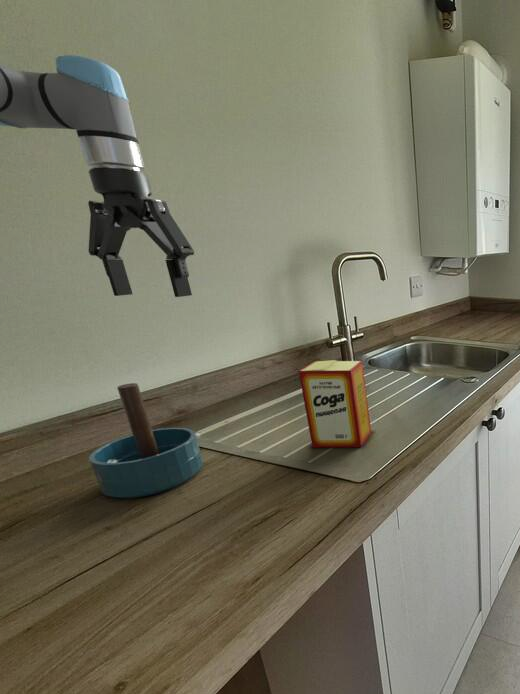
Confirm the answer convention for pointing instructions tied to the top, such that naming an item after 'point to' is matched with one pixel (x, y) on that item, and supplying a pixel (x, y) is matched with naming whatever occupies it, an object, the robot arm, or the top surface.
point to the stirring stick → (138, 420)
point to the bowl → (147, 464)
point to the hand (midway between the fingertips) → (153, 295)
